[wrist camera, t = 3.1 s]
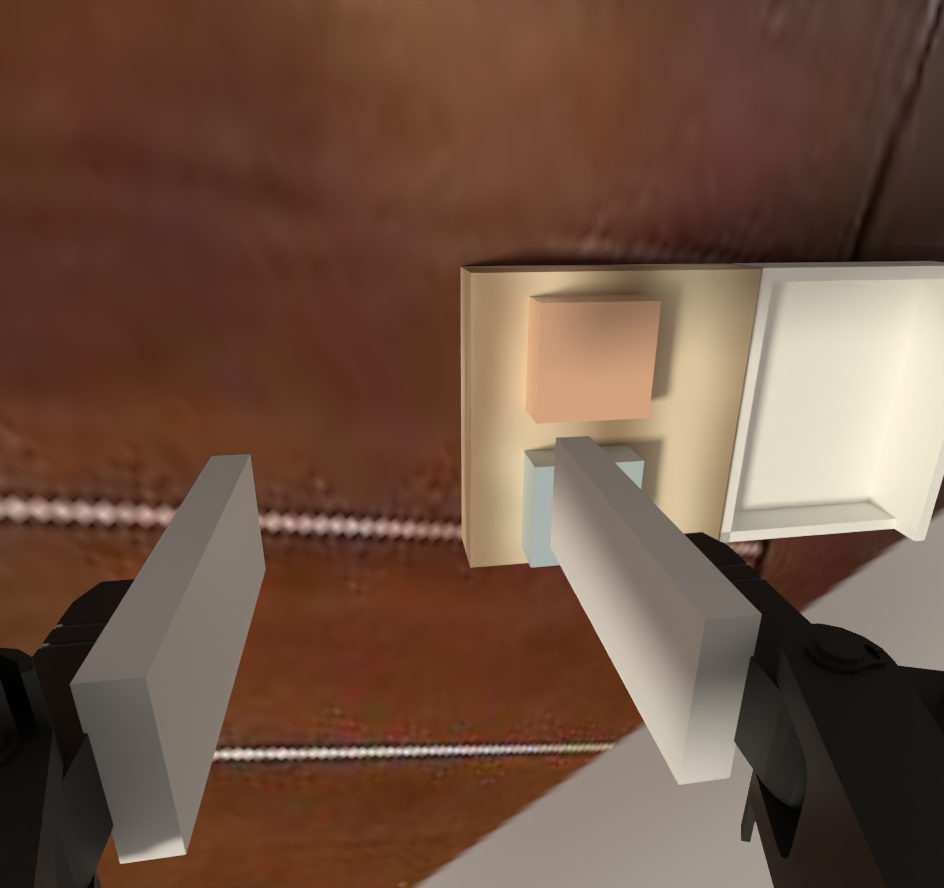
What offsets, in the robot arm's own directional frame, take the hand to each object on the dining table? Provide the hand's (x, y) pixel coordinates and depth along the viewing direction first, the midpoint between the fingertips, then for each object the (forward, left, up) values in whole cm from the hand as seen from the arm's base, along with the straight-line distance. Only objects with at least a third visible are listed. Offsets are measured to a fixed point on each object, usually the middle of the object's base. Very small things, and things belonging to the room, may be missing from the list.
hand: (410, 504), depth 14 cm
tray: (+22, -3, -17) cm, 28 cm away
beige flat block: (+10, -3, -17) cm, 20 cm away
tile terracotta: (+9, 0, -14) cm, 16 cm away
